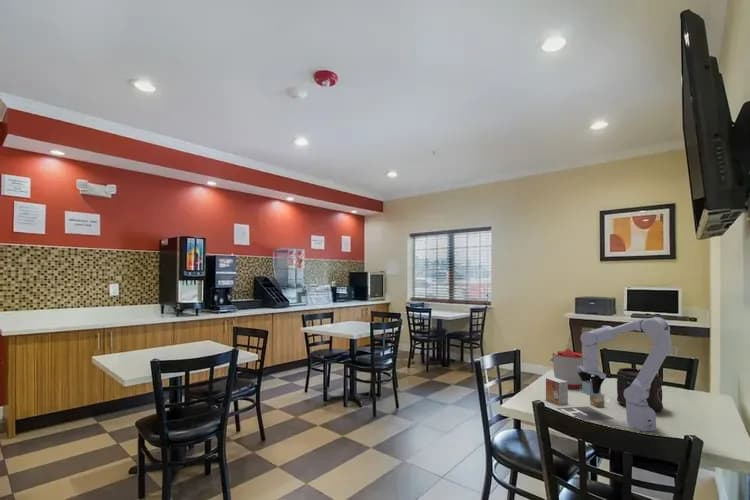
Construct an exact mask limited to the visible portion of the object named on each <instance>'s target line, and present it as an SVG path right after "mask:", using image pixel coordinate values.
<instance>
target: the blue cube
mask: <svg viewBox="0 0 750 500" xmlns="http://www.w3.org/2000/svg"><path fill="white" fill-rule="evenodd" d="M601 387H602V386H601ZM601 387H600V391H599V393H596V394H595V393H594V392H593V385H592V381H591V380H590V381H582V386H581V391H582V392H581V393H583V394H584V395H588V396H589V397H590V396H601V393H602V388H601Z"/></svg>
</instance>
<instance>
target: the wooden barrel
mask: <svg viewBox="0 0 750 500" xmlns="http://www.w3.org/2000/svg"><path fill="white" fill-rule="evenodd" d="M640 370H641V368H639V369H637V368H633V367H621V368H618V370H617V371H616V393H617V394H616V395H617V396H616V401H617V403H619V406H622V407H623V408H626V399H625V397H624V390H625V389H626V388H628V387H630V385H631V384H632V382H633V381H634V380H635V379H636V377H637V375H638V374H639V372H640ZM662 383H663V379H662V377H661V376H660V374H659V373H658V372H657V373H656V375H655V377H654V379H653V381H652V382H651V387H650V389H649V397H648V398H647V399H646V400H647V403H648V406H649V407H650V408H652V409H653V410H654V411H655V414H658V413H661V411H662V410H664V404H663V388H662Z"/></svg>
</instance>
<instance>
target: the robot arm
mask: <svg viewBox="0 0 750 500" xmlns="http://www.w3.org/2000/svg"><path fill="white" fill-rule="evenodd" d="M632 331H638V332H643V333H645V335H647V336H648V337H649V338H650V340H651V342H652V344H653V346H652V348H651V350H650V352H649V354H648V355H647V357H646V359H645V361H644V363H643V365H642V366H641V368H640V369H641V370H640V372H639V374H638V375H637V377H636V379H635V380H634V381H633V382H632V384H631V385H630V387H628V388H626V389H625V390H624V397H625V399H626V407H625V411H626V412H625V413H626V420H621V423H623V424H625V425H628V426H630V427H632V428H634V429H636V430H638V431H639V432H649V431H650V432H651V431H658V430H659V429H658V428H657V418H656V417H657V416H656V414H657V413H655V411H654V410H653V409H652V408H650V407H649V406H648V403H647V400H646V399H647V398H648V397H649V389H650V387H651V382H652V381H653V379H654V377H655V375H656V373H658V372H659V370H660V368H661V366H662V365H663V362H664V361H665V359H666V358H667V356H668V354H669V351H670V350H671V348H672V346H673V345H672V344H673V343H672V338H671V327H670V325H669V324H668V323H667V321H666V320H665V319H664V318H662V317H660V316H654V317H651V318H650V317H649V318H648V317H647V318H643V319H635V320H631V321H629V322H625V323H623V324H621V325H617V326H614V327H613V326H610V325H601V327H598V328H596V329H595V328H592V329H591V330H590V331H584V332H583V333H582V334H581V335H580V339H579V340H580V341H581V343H582V354H583V366H577V370H578V371H581V372H578V375H579V376H580V378H581V380H582V381H592V385H593V392H594V393H595V394H596V393H599V391H600V387H602V384H603V383H604V381H605V380H606V378H607V374H606V373H605V372H602V371H600V370H599V349H598V348H599V347H598V344H601V343H604V342H608V341H612V340H614V339H616V338H617V335H620V334H623V333H624V334H626V333H629V332H632Z"/></svg>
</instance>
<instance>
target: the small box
mask: <svg viewBox="0 0 750 500" xmlns="http://www.w3.org/2000/svg"><path fill="white" fill-rule="evenodd" d="M568 398H569V388H568V382H567V381H564V380H561V379H558V378H555V376H553V377H546V378H545V400H547V401H550V402H551V403H555V404H557V405H565V404H569V399H568Z"/></svg>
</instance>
